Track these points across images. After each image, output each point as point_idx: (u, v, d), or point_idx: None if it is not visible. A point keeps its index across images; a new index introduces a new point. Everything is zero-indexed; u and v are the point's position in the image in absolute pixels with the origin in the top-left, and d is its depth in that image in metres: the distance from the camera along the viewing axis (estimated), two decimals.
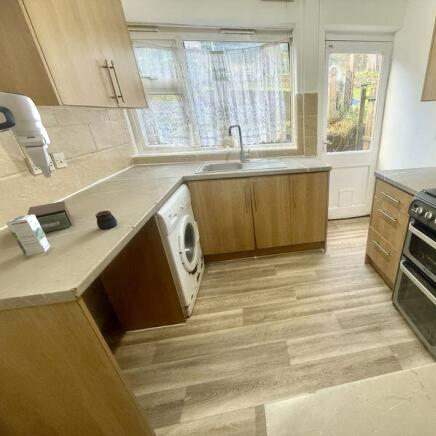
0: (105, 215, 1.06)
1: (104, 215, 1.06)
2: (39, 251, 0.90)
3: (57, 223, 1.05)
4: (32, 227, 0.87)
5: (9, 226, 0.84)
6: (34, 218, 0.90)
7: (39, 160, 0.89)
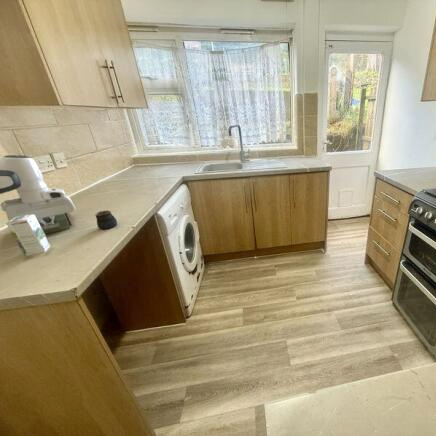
0: (105, 215, 1.06)
1: (104, 215, 1.06)
2: (39, 251, 0.90)
3: (57, 224, 1.04)
4: (32, 227, 0.87)
5: (9, 226, 0.84)
6: (34, 218, 0.90)
7: (73, 204, 1.07)
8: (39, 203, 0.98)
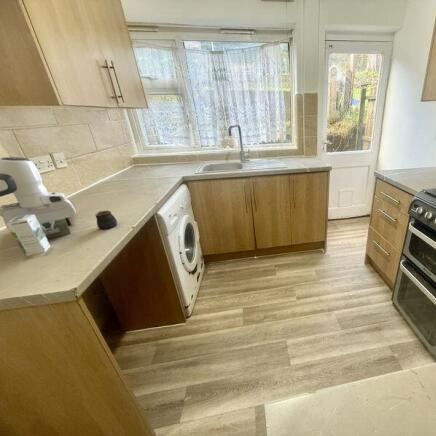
0: (105, 215, 1.06)
1: (104, 215, 1.06)
2: (39, 251, 0.90)
3: (57, 230, 0.99)
4: (32, 227, 0.87)
5: (9, 226, 0.84)
6: (34, 218, 0.90)
7: (74, 209, 1.02)
8: (38, 208, 0.93)
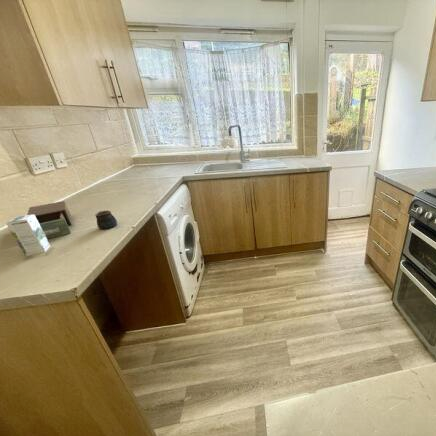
0: (105, 215, 1.06)
1: (104, 215, 1.06)
2: (39, 251, 0.90)
3: (57, 230, 0.99)
4: (32, 227, 0.87)
5: (9, 226, 0.84)
6: (34, 218, 0.90)
7: None
8: None
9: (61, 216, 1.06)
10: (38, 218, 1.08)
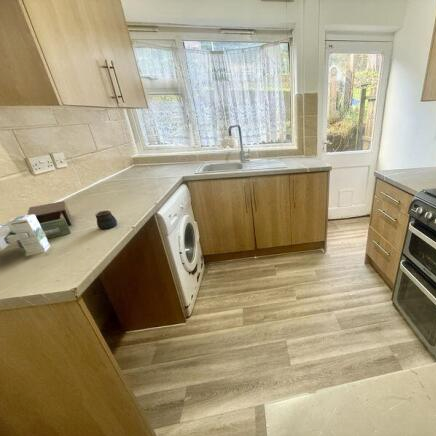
0: (105, 215, 1.06)
1: (104, 215, 1.06)
2: (39, 251, 0.90)
3: (57, 230, 0.99)
4: (32, 227, 0.87)
5: (9, 226, 0.84)
6: (34, 218, 0.90)
7: None
8: None
9: (61, 216, 1.06)
10: (38, 218, 1.08)
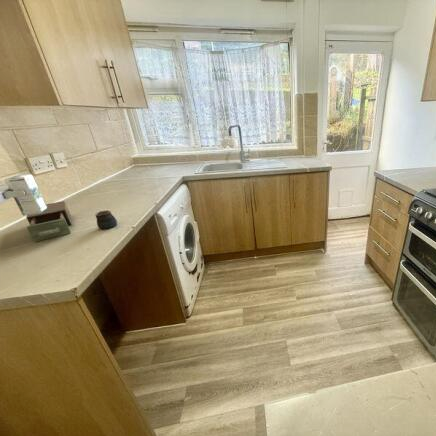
0: (105, 215, 1.06)
1: (104, 215, 1.06)
2: (35, 210, 0.94)
3: (57, 230, 0.99)
4: (29, 185, 0.91)
5: (7, 182, 0.88)
6: (31, 178, 0.94)
7: None
8: None
9: (61, 216, 1.06)
10: (38, 218, 1.08)
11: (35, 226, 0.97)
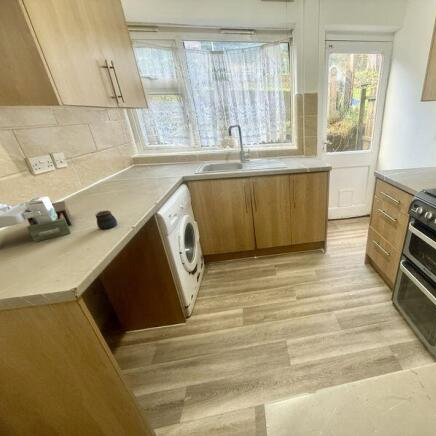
0: (105, 215, 1.06)
1: (104, 215, 1.06)
2: None
3: (57, 230, 0.99)
4: (46, 207, 1.01)
5: (27, 205, 0.97)
6: (48, 200, 1.03)
7: (10, 221, 0.91)
8: None
9: (61, 216, 1.06)
10: None
11: (35, 226, 0.97)
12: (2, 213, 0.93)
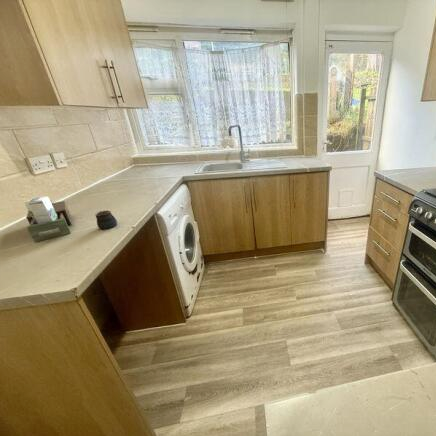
0: (105, 215, 1.06)
1: (104, 215, 1.06)
2: None
3: (57, 230, 0.99)
4: (46, 207, 1.01)
5: (27, 205, 0.97)
6: (48, 200, 1.03)
7: None
8: None
9: (61, 216, 1.06)
10: None
11: (35, 226, 0.97)
12: None
